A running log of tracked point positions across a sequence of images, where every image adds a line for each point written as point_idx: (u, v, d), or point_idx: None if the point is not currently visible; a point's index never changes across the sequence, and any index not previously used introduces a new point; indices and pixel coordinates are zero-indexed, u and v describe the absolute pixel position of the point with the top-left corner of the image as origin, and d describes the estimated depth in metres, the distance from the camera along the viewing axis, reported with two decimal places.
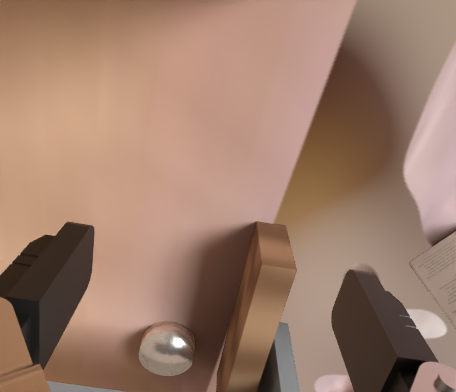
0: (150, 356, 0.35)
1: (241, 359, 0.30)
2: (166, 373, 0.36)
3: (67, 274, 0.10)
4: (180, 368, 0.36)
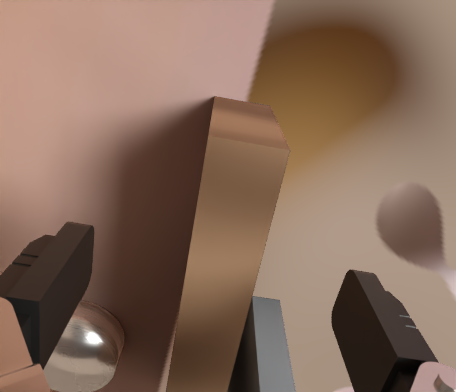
0: None
1: (184, 362, 0.15)
2: (75, 388, 0.21)
3: (67, 274, 0.10)
4: (96, 380, 0.21)
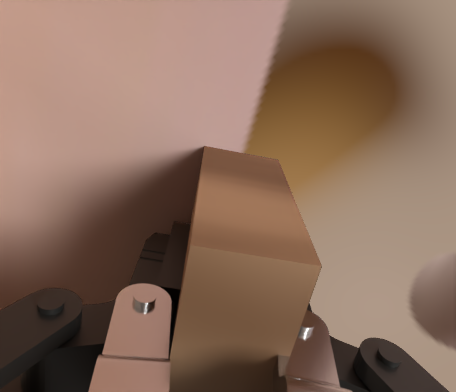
0: None
1: None
2: None
3: None
4: None
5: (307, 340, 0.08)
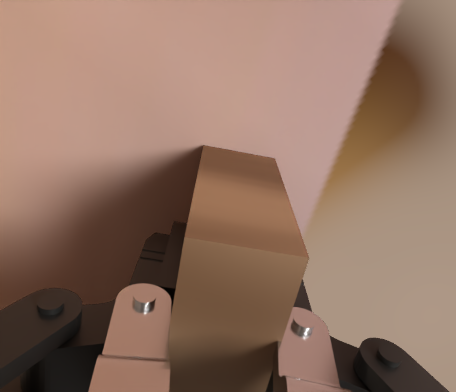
0: None
1: None
2: None
3: None
4: None
5: (307, 340, 0.08)
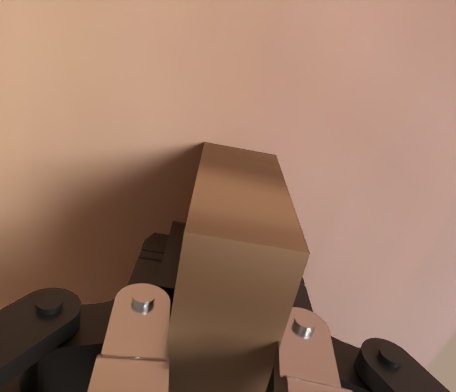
0: None
1: None
2: None
3: None
4: None
5: (308, 340, 0.08)
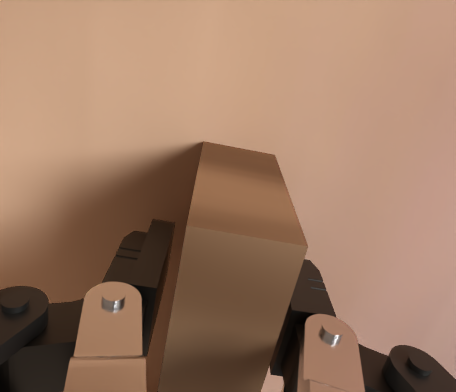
0: None
1: None
2: None
3: (164, 265, 0.11)
4: None
5: (337, 348, 0.08)
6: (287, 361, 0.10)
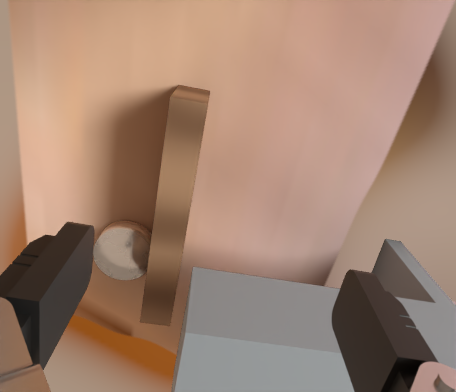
0: (106, 258, 0.33)
1: (160, 224, 0.28)
2: (130, 275, 0.34)
3: (67, 274, 0.10)
4: (142, 266, 0.34)
5: None
6: None
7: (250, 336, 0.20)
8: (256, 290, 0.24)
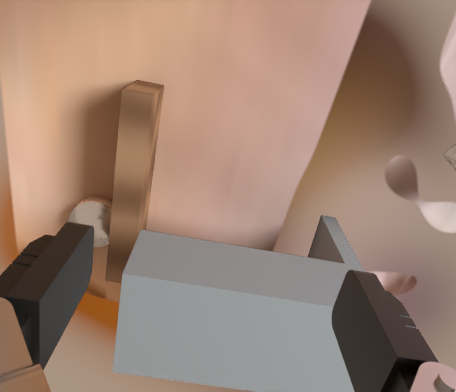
0: None
1: (118, 196, 0.33)
2: (100, 243, 0.40)
3: (67, 274, 0.10)
4: None
5: None
6: None
7: (174, 278, 0.26)
8: (190, 248, 0.30)
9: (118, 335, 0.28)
